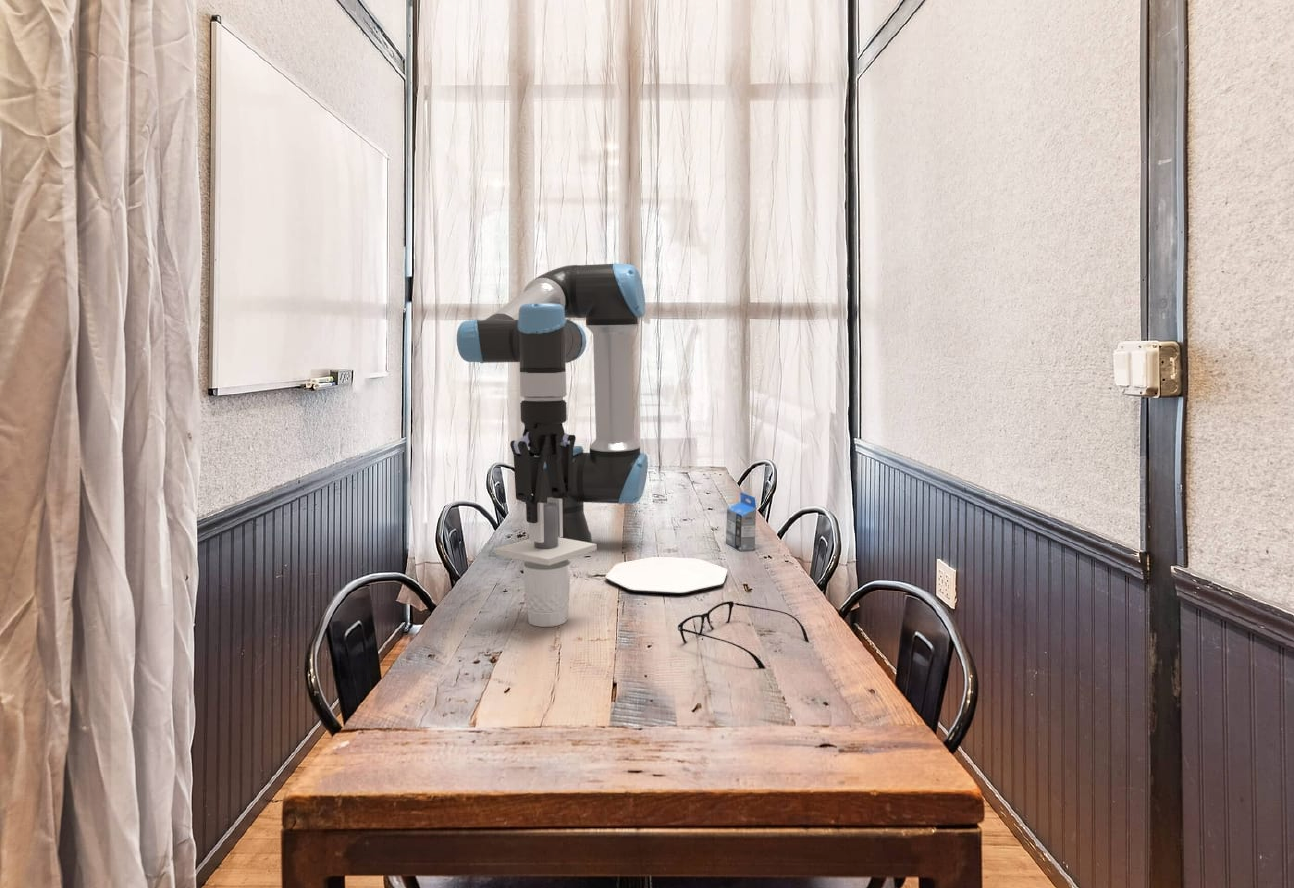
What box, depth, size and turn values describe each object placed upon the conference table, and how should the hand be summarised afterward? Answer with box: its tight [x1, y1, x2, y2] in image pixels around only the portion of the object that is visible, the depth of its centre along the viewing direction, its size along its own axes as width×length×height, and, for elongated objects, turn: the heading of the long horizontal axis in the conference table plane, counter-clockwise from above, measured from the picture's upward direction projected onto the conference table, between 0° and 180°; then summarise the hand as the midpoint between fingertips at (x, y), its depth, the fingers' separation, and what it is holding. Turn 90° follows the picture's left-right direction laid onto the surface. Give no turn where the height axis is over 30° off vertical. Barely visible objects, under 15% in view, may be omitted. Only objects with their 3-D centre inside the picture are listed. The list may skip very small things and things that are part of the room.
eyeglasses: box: [676, 600, 810, 670], centre depth 119 cm, size 16×16×4 cm
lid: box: [494, 503, 598, 566], centre depth 127 cm, size 12×12×8 cm
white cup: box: [522, 559, 571, 628], centre depth 129 cm, size 8×8×10 cm
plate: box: [604, 556, 729, 595], centre depth 153 cm, size 24×24×2 cm
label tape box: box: [725, 491, 757, 552], centre depth 178 cm, size 9×4×12 cm, turn 17°
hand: (546, 538), depth 127 cm, fingers closed on lid, 4 cm apart
